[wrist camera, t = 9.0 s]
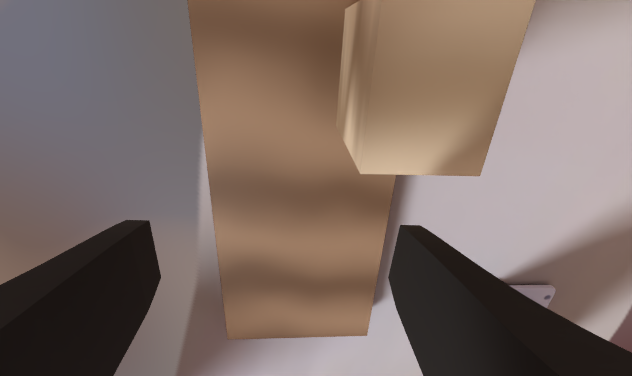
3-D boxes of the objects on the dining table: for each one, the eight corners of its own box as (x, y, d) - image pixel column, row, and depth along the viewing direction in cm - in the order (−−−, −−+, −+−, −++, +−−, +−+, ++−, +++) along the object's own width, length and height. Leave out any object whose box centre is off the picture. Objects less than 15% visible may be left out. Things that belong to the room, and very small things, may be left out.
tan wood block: (420, 120, 17) (508, 176, 10) (331, 117, 16) (360, 173, 10) (440, 18, 15) (572, -1, 8) (339, 12, 14) (383, -14, 7)
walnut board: (361, 313, 24) (366, 335, 22) (232, 316, 23) (227, 339, 21) (415, -21, 14) (433, -30, 12) (196, -37, 13) (181, -49, 11)
